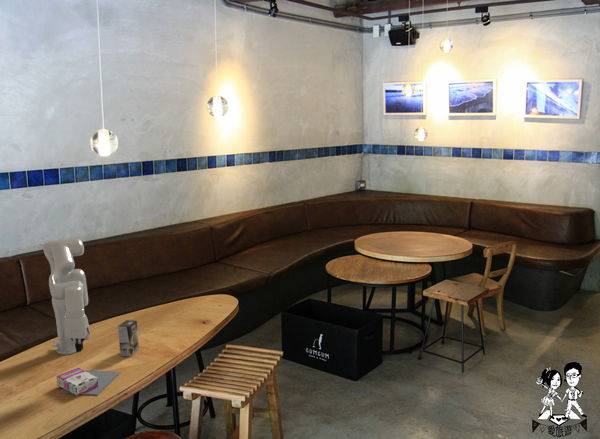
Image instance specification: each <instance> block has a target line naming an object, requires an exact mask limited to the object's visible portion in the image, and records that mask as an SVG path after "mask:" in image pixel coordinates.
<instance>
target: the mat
mask: <svg viewBox="0 0 600 439" xmlns="http://www.w3.org/2000/svg"><path fill="white" fill-rule="evenodd" d="M84 371H86V372H88V373H90V374H92V375H94V376H96V377H97V378H98V387H96V388H93V389H91V390H88V391H86V392H84V393H81V394H84V396H99V395H100V394H101V393H102V392H103V391H104V390H105V389H106V388H107V387H108V386H109V385H110V384H111V383H112V382H114V380H115V379H116V378H118V377H119V376H120V374H121V371H110V370H109V371H108V370H107V371H106V370H91V369H90V370H88V369H87V370H86V369H85V370H84ZM59 393H60V394H61V393H71V392H69V391H67V390H65V389H63V388H62V390H61V391H60V392H59ZM70 395H74V394H73V393H71V394H70Z"/></svg>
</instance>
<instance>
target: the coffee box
mask: <svg viewBox="0 0 600 439" xmlns="http://www.w3.org/2000/svg"><path fill="white" fill-rule="evenodd" d="M117 332H118V342H119V344H118V345H119V355H120V356H121V357H132V356H134V355H135V354H136V353H137V352H138V351H139V350H140V342H139V340H140V339H139V330H138V320H137V319H136V320H135V319H134V320H133V319H132V320H131V319H129V320H128V319H126V320H125V321H123V322H122V323H120V324H119V325H118V326H117Z"/></svg>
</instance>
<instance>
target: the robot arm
mask: <svg viewBox="0 0 600 439" xmlns="http://www.w3.org/2000/svg"><path fill="white" fill-rule="evenodd" d="M42 250H43V253H44V255H45V258H46V260H47V261H48V263H49V266H50V275H49V276H48V277H49V278H48V286H49V292H50V295H51V304H52V308H53V311H54V316H55V321H56V329H57V338H58V341H53V343H52V347H55V348H56V353H57V354H58V355H65V356H66V355H72V354H75V353H77V352H78V353H81V352H82V351H83V350H84V343H83V342H84V341H87V340H89V339H91V337H90V333H91V332H90V331H91V330H90V325H89V320H88V317H87V315H86V314H85V307H86V306H88V304H89V295H88V285H87V279H86V274H85V272H84V271H83V269H81V268H75V266H76V265H75V264H76V263H75V260H74V257H79V256H82V255H84V253H85V246H84V243H83V241H82V239H80V238H78V237H73V238H72V237H71V238H64V239H55V240H50V241H47V242H44V243H43V245H42Z"/></svg>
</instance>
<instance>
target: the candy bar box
mask: <svg viewBox="0 0 600 439" xmlns="http://www.w3.org/2000/svg"><path fill="white" fill-rule="evenodd" d="M56 385H57V386H58V387H60V388H61V389H62V390H63V389H65V390H67V391H69V392H71V393H73V394H72V395H75V396H79V394H81V393H84V392H86V391H88V390H91V389H93V388H96V387H98V378H97V377H96V376H94V375H92V374H90V373H88V372H86V371H85V370H83V369H81V368H79V367H76V368H74V369H71V370H68V371H66V372H64V373H61V374H58V375H56Z"/></svg>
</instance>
